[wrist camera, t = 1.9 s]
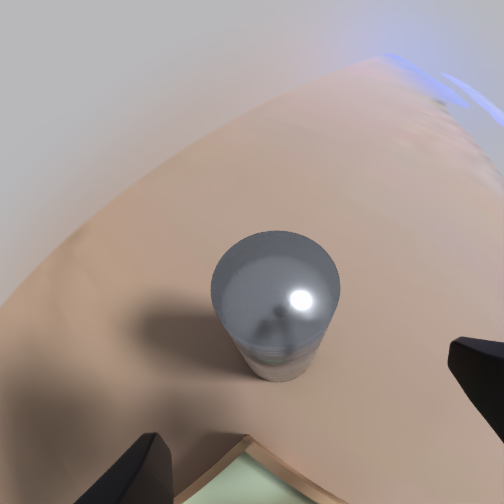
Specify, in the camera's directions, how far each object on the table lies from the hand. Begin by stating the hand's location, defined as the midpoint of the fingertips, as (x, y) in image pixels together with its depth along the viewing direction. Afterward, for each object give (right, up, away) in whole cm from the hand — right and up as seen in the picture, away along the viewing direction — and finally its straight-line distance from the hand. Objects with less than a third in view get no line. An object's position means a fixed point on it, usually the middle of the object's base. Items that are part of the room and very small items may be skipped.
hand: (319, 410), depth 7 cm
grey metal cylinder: (0, -2, +12) cm, 12 cm away
